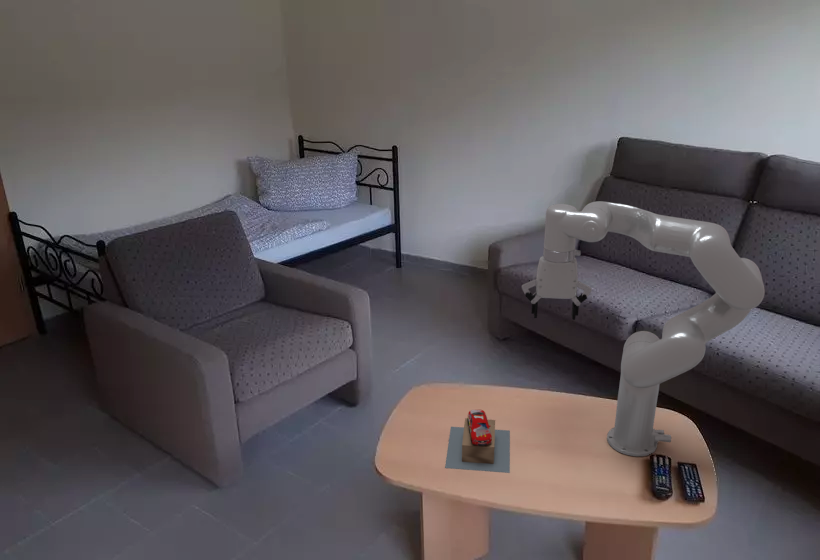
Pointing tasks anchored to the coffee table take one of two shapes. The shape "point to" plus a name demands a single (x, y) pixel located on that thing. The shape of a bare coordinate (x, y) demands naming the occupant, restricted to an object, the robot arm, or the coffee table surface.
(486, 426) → the race car
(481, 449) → the walnut block
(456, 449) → the base plate
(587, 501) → the coffee table surface
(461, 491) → the coffee table surface
